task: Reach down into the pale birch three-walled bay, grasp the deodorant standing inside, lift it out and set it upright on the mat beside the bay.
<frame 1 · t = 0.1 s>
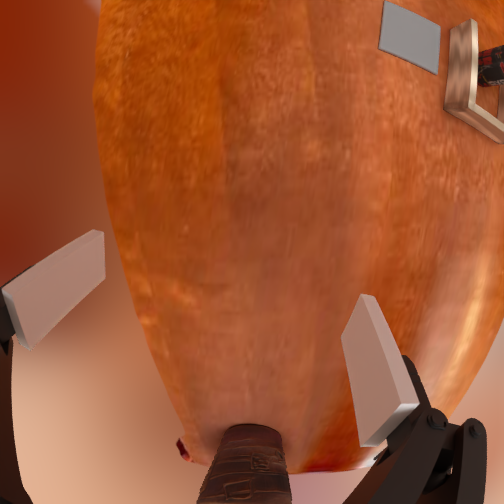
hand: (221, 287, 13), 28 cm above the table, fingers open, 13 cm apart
mat: (410, 36, 26), on the table
bay: (478, 85, 27), on the table
vase: (254, 436, 63), on the table
deodorant: (478, 71, 26), on the table
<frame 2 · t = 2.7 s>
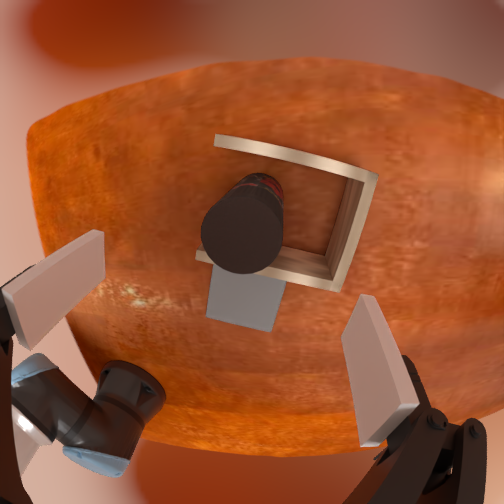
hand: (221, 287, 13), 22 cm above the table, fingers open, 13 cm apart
mat: (244, 295, 39), on the table
bay: (282, 202, 34), on the table
deodorant: (259, 196, 34), on the table
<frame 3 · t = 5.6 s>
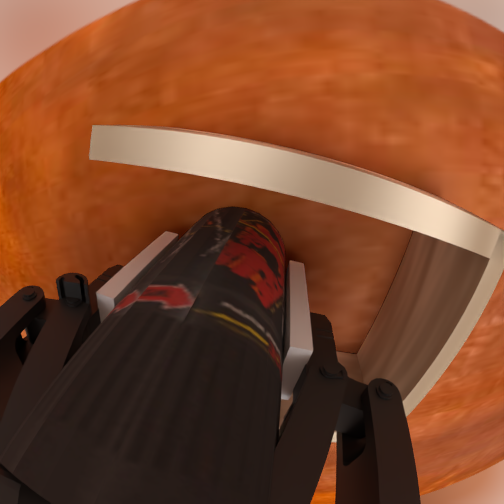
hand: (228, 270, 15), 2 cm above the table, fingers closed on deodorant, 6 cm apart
bay: (284, 267, 16), on the table
deodorant: (235, 254, 17), on the table, touching gripper
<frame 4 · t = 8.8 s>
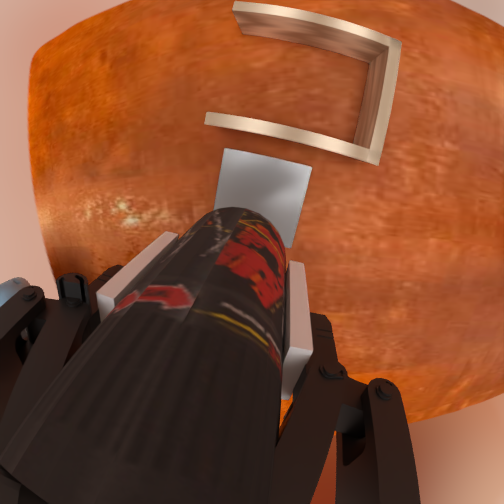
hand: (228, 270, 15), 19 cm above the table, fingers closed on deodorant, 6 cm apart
mat: (259, 197, 32), on the table
bay: (302, 86, 27), on the table
deodorant: (235, 254, 17), point 17 cm above the table, touching gripper
when the fingers open (4 cm above the table, at t = 12.1 s): deodorant drops 1 cm, resting on mat.
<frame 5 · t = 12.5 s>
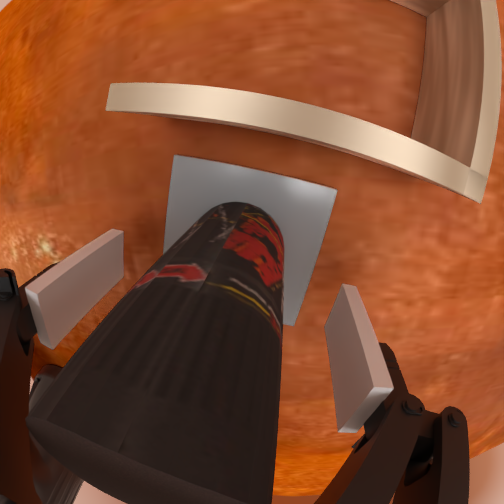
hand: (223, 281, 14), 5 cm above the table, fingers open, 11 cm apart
mat: (239, 244, 18), on the table
bay: (318, 41, 13), on the table
deodorant: (237, 246, 18), resting on mat
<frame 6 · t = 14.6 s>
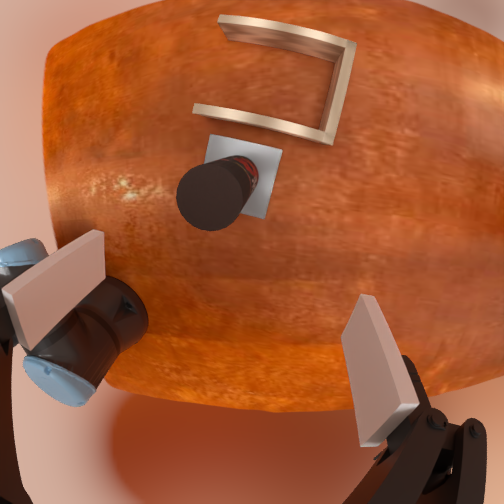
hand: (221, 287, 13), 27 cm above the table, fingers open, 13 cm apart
mat: (238, 175, 38), on the table
bay: (276, 83, 32), on the table
deodorant: (237, 176, 37), resting on mat
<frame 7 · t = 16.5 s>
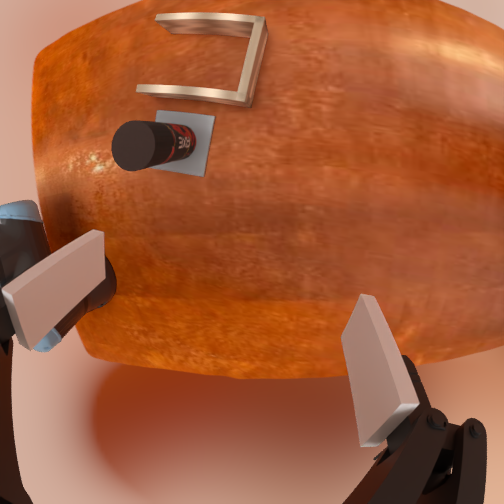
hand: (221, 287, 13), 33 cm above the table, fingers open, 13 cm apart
mat: (180, 142, 42), on the table
bay: (209, 63, 36), on the table
deodorant: (179, 142, 41), resting on mat
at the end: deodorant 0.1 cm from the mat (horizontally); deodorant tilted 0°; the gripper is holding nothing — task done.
